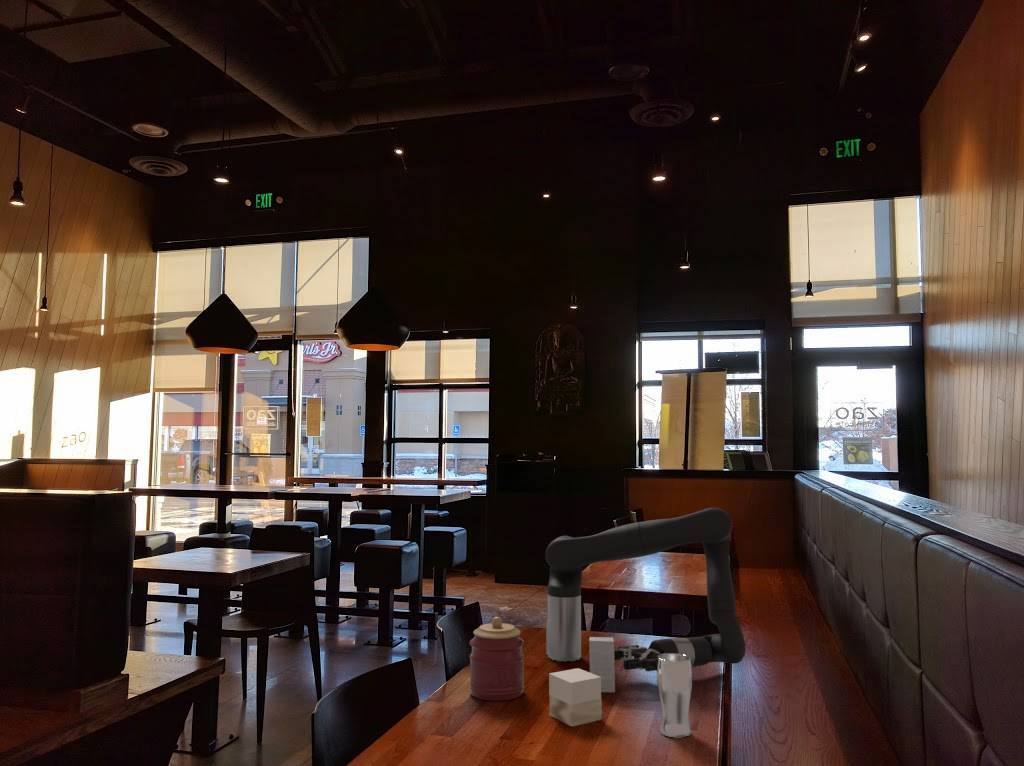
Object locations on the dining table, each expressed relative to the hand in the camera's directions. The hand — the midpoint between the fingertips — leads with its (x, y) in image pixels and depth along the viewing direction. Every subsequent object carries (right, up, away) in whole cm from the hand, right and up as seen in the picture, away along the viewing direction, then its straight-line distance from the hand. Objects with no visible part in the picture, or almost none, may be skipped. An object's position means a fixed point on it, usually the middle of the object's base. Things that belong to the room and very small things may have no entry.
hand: (615, 660), depth 183 cm
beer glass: (+8, -4, -30) cm, 31 cm away
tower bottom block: (-12, -5, -21) cm, 24 cm away
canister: (-29, -6, -5) cm, 30 cm away
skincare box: (-4, -7, -2) cm, 8 cm away
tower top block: (-12, 0, -20) cm, 24 cm away
